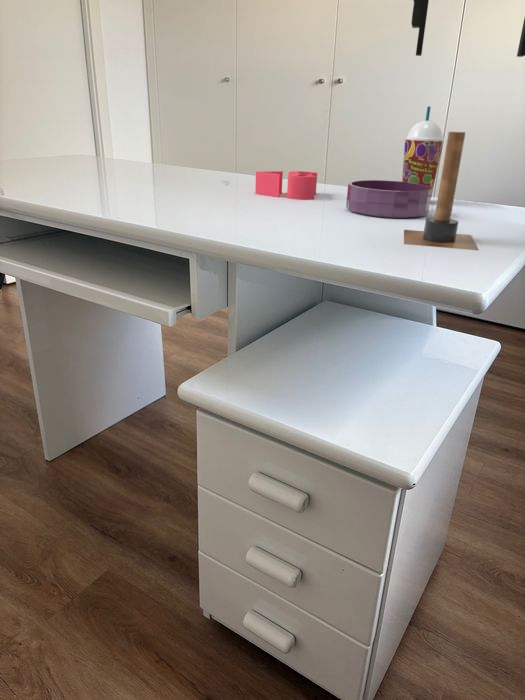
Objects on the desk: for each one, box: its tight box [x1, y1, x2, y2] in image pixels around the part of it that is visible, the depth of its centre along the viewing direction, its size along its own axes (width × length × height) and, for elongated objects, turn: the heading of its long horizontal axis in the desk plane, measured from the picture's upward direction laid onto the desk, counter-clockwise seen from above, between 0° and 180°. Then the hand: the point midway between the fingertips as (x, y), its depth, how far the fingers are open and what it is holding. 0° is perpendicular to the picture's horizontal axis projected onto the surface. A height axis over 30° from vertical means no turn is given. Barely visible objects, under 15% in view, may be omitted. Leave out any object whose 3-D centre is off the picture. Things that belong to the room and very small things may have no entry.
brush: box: [423, 131, 466, 243], centre depth 83 cm, size 5×5×16 cm
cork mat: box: [403, 229, 480, 251], centre depth 86 cm, size 11×11×1 cm
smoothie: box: [401, 106, 445, 197], centre depth 119 cm, size 8×8×20 cm
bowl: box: [345, 179, 433, 219], centre depth 107 cm, size 16×16×6 cm
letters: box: [254, 170, 318, 200], centre depth 126 cm, size 14×10×5 cm
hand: (468, 55), depth 75 cm, fingers open, 13 cm apart
